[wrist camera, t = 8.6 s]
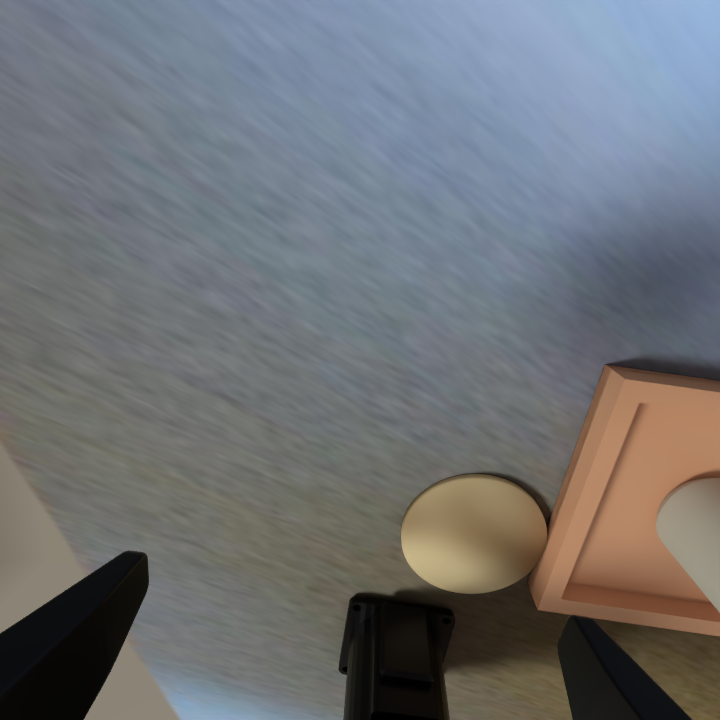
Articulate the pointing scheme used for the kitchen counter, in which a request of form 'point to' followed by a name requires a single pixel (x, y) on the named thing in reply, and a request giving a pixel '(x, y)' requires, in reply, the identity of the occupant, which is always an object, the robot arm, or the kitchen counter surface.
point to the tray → (631, 503)
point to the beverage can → (694, 532)
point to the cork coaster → (473, 534)
